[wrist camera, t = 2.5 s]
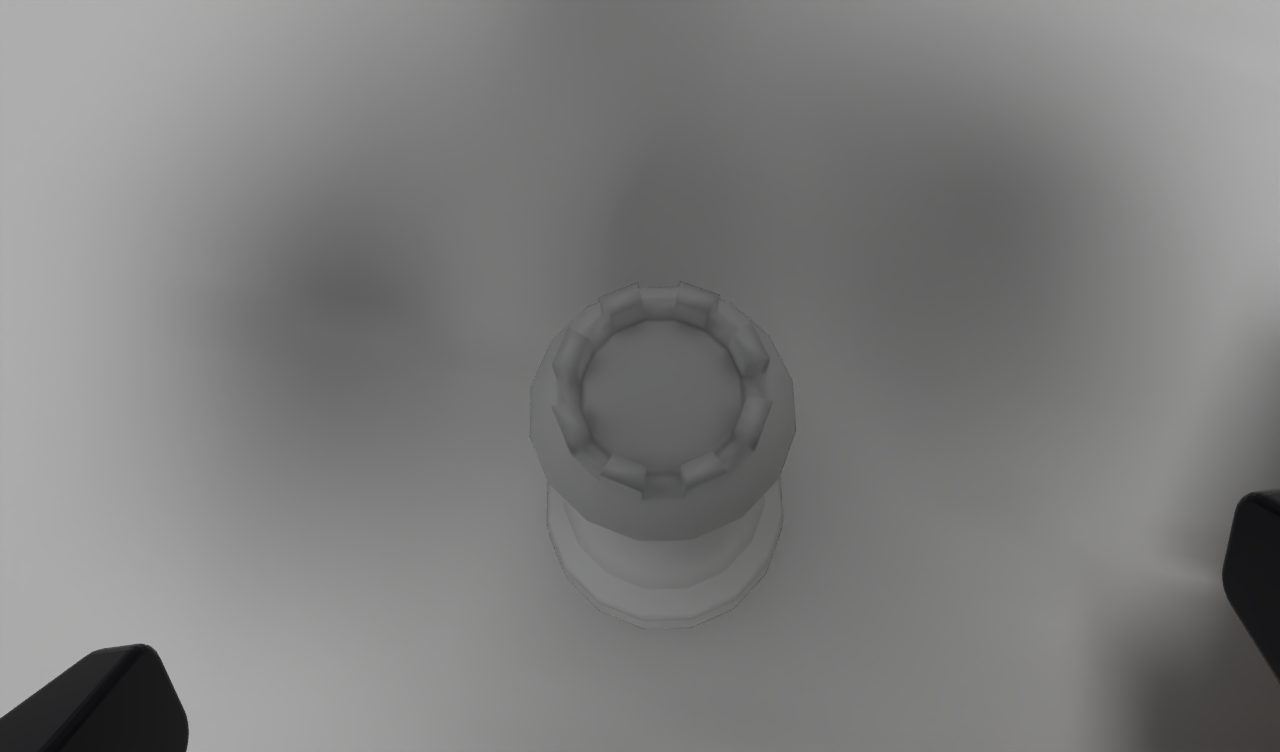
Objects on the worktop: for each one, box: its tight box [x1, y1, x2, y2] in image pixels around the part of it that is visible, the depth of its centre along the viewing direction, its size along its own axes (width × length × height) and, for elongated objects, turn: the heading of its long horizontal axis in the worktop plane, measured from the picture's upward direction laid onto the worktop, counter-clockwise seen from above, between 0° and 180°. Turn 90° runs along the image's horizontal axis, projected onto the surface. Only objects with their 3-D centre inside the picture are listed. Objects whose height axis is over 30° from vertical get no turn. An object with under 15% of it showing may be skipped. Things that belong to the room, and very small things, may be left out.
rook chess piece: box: [530, 281, 796, 629], centre depth 14 cm, size 4×4×8 cm
